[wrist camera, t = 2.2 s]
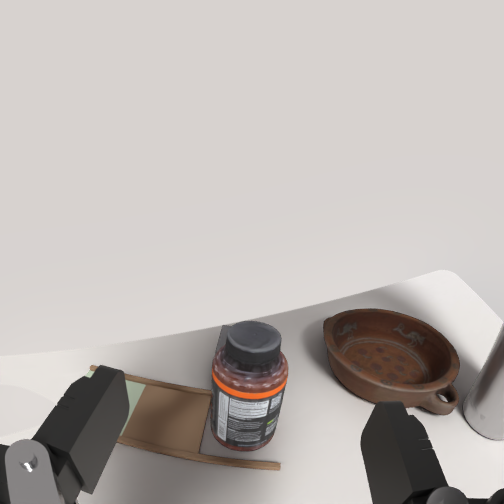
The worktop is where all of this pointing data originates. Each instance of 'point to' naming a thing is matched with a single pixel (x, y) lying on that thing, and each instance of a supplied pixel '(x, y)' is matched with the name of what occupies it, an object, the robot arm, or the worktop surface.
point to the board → (171, 421)
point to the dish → (392, 358)
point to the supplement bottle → (248, 386)
